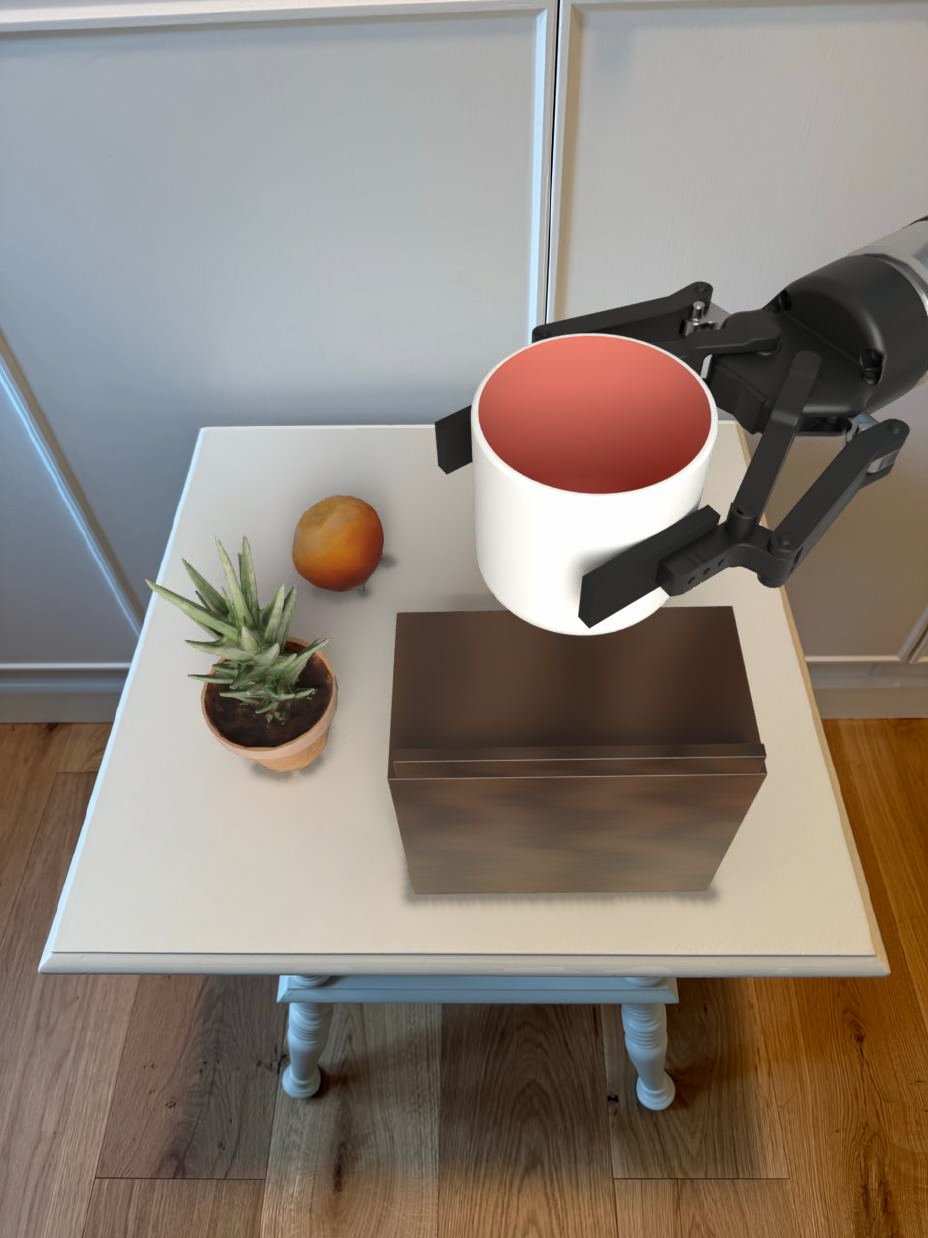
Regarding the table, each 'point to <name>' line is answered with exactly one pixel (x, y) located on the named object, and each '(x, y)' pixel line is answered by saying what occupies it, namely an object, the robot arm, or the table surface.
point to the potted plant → (259, 670)
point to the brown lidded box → (570, 752)
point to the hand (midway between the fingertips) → (508, 521)
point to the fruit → (338, 543)
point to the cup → (583, 468)
